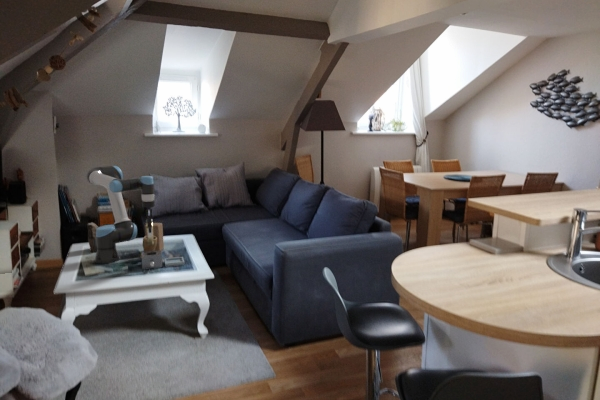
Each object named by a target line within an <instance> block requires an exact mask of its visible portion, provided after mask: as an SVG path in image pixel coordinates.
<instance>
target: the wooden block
mask: <svg viewBox="0 0 600 400" xmlns="http://www.w3.org/2000/svg"><path fill="white" fill-rule="evenodd" d="M145 236H147V229H146V224H145V225H144V237H145ZM153 236H155V237H157V245H156V248H155V251H159V250H161V252H162V251H163V250H164V248H165V247H164V229H163V223H162V222H153Z"/></svg>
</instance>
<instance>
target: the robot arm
mask: <svg viewBox="0 0 600 400" xmlns="http://www.w3.org/2000/svg"><path fill="white" fill-rule="evenodd" d="M123 176H124V175H123V171H122V170H121V168H120V167H119V166H117V165H104V166H95V167H92V168H90V169H89V170H88V171H87V173H86V176H85V177H86V178H85V179H86V181H87V182H88V183H89V184H91V185H94V186H101V187H104V188H105V189H106V192H107V194H108V199H109V202H110V207H111V210H112V214H113V218H114V223H113V224H105V225H100V226H98V227H99V228H97V229H96V241H97V252H96V254H95V257H94V262H95V263H96V264H103V265H104V264H111V263H115V261H116V262H118V261H120V254H119V252H118V249H117V245H116V244H120V243H125V242H130V241H133V240H135V239H136V237H137V235H138V227H137V224H135V222H132V219H130V218H129V216H128V213H127V209H126V204H125V201H124V199H123V198H124V197H123V194H122V193H123V192H132V191H140V192H141V206H142V207H143V208H145V216H146V220H147V222H148V226H147V228H148V238H150V237H153V236H152V220H151V219H152V217H153V215H152V214H153V209H152V208H153V207H155V206H156V203H155V197H156V195H155V183H154V176H152V175H142V176H141V177H132V178H126V179H125V178H124V179H123Z"/></svg>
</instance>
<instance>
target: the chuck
mask: <svg viewBox="0 0 600 400" xmlns="http://www.w3.org/2000/svg"><path fill="white" fill-rule="evenodd" d="M141 254H142V259H141V267H142V270H149V269H158V268H163V260H162V259H163V257H162V251H161V250H159V251H148V252H143V251H141Z"/></svg>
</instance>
